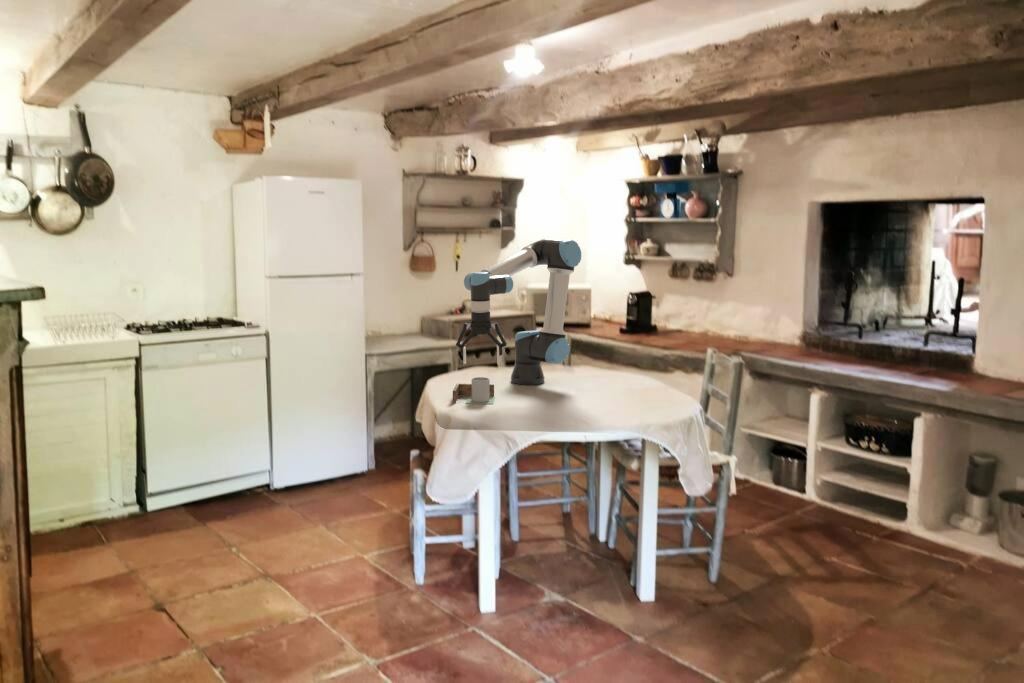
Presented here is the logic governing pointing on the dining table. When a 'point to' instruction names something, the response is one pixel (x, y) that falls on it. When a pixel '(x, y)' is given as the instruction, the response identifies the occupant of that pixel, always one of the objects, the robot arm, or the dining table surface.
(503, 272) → the robot arm
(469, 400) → the mat
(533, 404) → the dining table surface
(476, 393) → the cup
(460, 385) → the corner walls
